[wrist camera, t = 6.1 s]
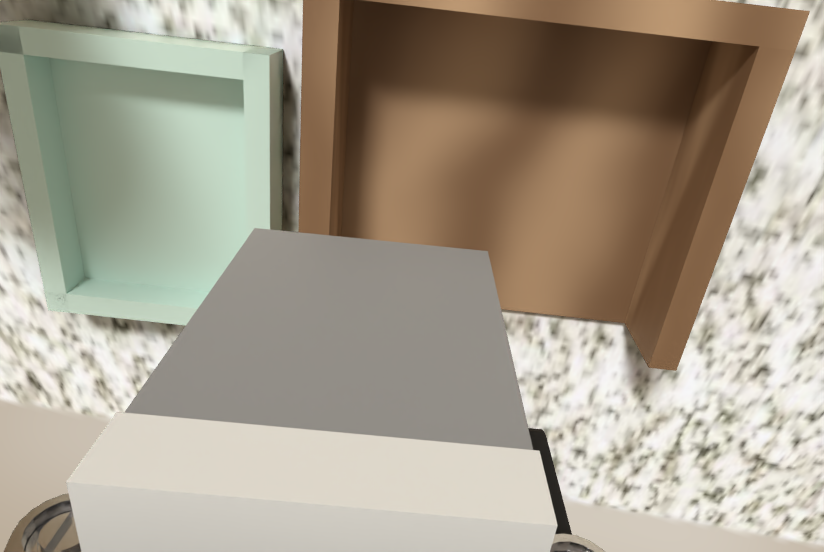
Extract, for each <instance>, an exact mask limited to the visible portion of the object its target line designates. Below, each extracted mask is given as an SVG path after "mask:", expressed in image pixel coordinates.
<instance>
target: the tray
mask: <svg viewBox="0 0 824 552" xmlns="http://www.w3.org/2000/svg"><path fill="white" fill-rule="evenodd" d="M0 70H1V75H2V80H3V85H4V90H5V95H6V100H7V105H8V110H9V115H10V120H11V125H12V130H13V135H14V140H15V145H16V150H17V155H18V160H19V165H20V170H21V175H22V180H23V185H24V191H25V196H26V201H27V206H28V211H29V216H30V221H31V226H32V231H33V236H34V241H35V246H36V251H37V256H38V261H39V266H40V271H41V276H42V281H43V286H44V291H45V296H46V301H47V306H48V310H51V311H60V312H68V313H77V314H86V315H95V316H104V317H113V318H122V319H131V320H140V321H149V322H158V323H167V324H176V325H185V326H186V325H187V323H188V322H189V320H190V319H191V318H192V316H193V315H194V313H195V312H196V310H197V309H198V308H199V306H200V305H201V303H202V302H203V301H204V299H205V298H206V296H207V295H208V293H209V292H210V291H211V289H212V288H213V286H214V285H215V283H216V282H217V281H218V279H219V278H220V276H221V275H222V274H223V272H224V271H225V269H226V268H227V266H228V265H229V264H230V262H231V261H232V259H233V258H234V257H235V255H236V254H237V252H238V251H239V249H240V248H241V247H242V245H243V244H244V242H245V241H246V240H247V238H248V237H249V235H250V234H251V232H252V231H253V230H254V228H260V229H270V230H280V231H282V182H283V49H277V48H269V47H260V46H251V45H243V44H234V43H225V42H217V41H208V40H200V39H191V38H182V37H174V36H165V35H156V34H148V33H139V32H130V31H122V30H113V29H104V28H96V27H87V26H79V25H70V24H61V23H53V22H44V21H35V20H19V21H9V22H0Z"/></svg>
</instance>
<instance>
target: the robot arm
mask: <svg viewBox="0 0 824 552" xmlns="http://www.w3.org/2000/svg"><path fill="white" fill-rule="evenodd" d="M528 429H529V434H530V438H531V442H532V447H533V450H537V451H540V455H541V459H542V463H543V467H544V471H545V476H546V480H547V484H548V488H549V492H550V496H551V500H552V505H553V509H554V513H555V517H556V521H557V525H558V526H557V529H556V533H555V536H554V539H553V543H552V546H551V550H550V552H605V551H604V550H603V549H601V548H600V547H598V546H597V545H595V544H594V543H592V542H591V541H589V540H587V539H584V538H581V537H579V536H576V535H572V533H571V530H570V525H569V522H568V518H567V514H566V510H565V506H564V503H563V499H562V495H561V491H560V487H559V484H558V480H557V476H556V472H555V468H554V465H553V461H552V457H551V453H550V449H549V446H548V442H547V438H546V435H545V433H544V431H543V430H542V429H531V428H528ZM4 552H81V548H80V543H79V539H78V534H77V529H76V525H75V520H74V516H73V511H72V506H71V502H70V497H69V493H68V494H63V495H60V496H58V497H55V498H52V499H50V500H47V501H45V502H44V503H42V504H40V505H39V506H37V507H36V508H34V509H32V510H31V511H30V512H29V513H28V514H27V515H26V516H25V517H24V518H22V519H21V520H20V521H19V523H18V525H17V526H16V528H15V529H14V531H13V532H12V535H11V536H10V539H9V541H8V543H7V545H6V548H5V550H4Z"/></svg>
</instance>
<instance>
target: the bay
mask: <svg viewBox="0 0 824 552" xmlns="http://www.w3.org/2000/svg"><path fill="white" fill-rule="evenodd" d="M809 12H810V11H803V10H794V9H786V8H777V7H769V6H760V5H752V4H743V3H734V2H726V1H717V0H303V36H302V87H301V138H300V189H299V232H300V233H310V234H320V235H330V236H340V237H350V238H360V239H370V240H380V241H390V242H400V243H410V244H421V245H431V246H441V247H451V248H461V249H471V250H481V251H488V254H489V259H490V263H491V267H492V272H493V276H494V280H495V285H496V289H497V294H498V298H499V302H500V307H501V309H504V310H513V311H522V312H531V313H540V314H549V315H558V316H567V317H576V318H585V319H593V320H602V321H611V322H620V323H625V325H626V326H627V328H628V330H629V332H630V334H631V336H632V338H633V339H634V341H635V343H636V345H637V347H638V349H639V351H640V352H641V354H642V356H643V358H644V360H645V362H646V364H647V365H648V367H649V368H658V369H667V370H677V367H678V364H679V362H680V359H681V356H682V354H683V351H684V348H685V346H686V343H687V340H688V338H689V335H690V332H691V330H692V327H693V324H694V321H695V319H696V316H697V313H698V311H699V308H700V305H701V303H702V300H703V297H704V295H705V292H706V289H707V287H708V284H709V281H710V278H711V276H712V273H713V270H714V268H715V265H716V262H717V260H718V257H719V254H720V252H721V249H722V246H723V244H724V241H725V238H726V235H727V233H728V230H729V227H730V225H731V222H732V219H733V217H734V214H735V211H736V209H737V206H738V203H739V201H740V198H741V195H742V192H743V190H744V187H745V184H746V182H747V179H748V176H749V174H750V171H751V168H752V166H753V163H754V160H755V158H756V155H757V152H758V149H759V147H760V144H761V141H762V139H763V136H764V133H765V131H766V128H767V125H768V123H769V120H770V117H771V115H772V112H773V109H774V107H775V104H776V101H777V98H778V96H779V93H780V90H781V88H782V85H783V82H784V80H785V77H786V74H787V72H788V69H789V66H790V64H791V61H792V58H793V55H794V53H795V50H796V47H797V45H798V42H799V39H800V37H801V34H802V31H803V29H804V26H805V23H806V21H807V18H808V15H809Z"/></svg>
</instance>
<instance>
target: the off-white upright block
mask: <svg viewBox="0 0 824 552" xmlns="http://www.w3.org/2000/svg"><path fill="white" fill-rule="evenodd" d="M66 483H67V488H68V492H69V497H70V502H71V506H72V511H73V516H74V520H75V525H76V529H77V534H78V539H79V543H80V548H81V552H550V550H551V546H552V543H553V539H554V536H555V533H556V529H557V526H558V525H557V521H556V517H555V513H554V509H553V505H552V500H551V496H550V492H549V488H548V484H547V480H546V476H545V471H544V467H543V463H542V459H541V455H540V451H537V450H533V447H532V442H531V438H530V434H529V429H528V425H527V420H526V416H525V412H524V407H523V403H522V399H521V394H520V390H519V385H518V381H517V377H516V372H515V368H514V364H513V359H512V355H511V350H510V346H509V342H508V337H507V333H506V329H505V324H504V320H503V315H502V311H501V307H500V302H499V298H498V294H497V289H496V285H495V280H494V276H493V272H492V267H491V263H490V259H489V254H488V251H481V250H471V249H461V248H451V247H441V246H431V245H421V244H410V243H400V242H390V241H380V240H370V239H360V238H350V237H340V236H330V235H320V234H310V233H300V232H290V231H280V230H270V229H260V228H254V230H253V231H252V232H251V234H250V235H249V237H248V238H247V240H246V241H245V242H244V244H243V245H242V247H241V248H240V249H239V251H238V252H237V254H236V255H235V257H234V258H233V259H232V261H231V262H230V264H229V265H228V266H227V268H226V269H225V271H224V272H223V274H222V275H221V276H220V278H219V279H218V281H217V282H216V283H215V285H214V286H213V288H212V289H211V291H210V292H209V293H208V295H207V296H206V298H205V299H204V301H203V302H202V303H201V305H200V306H199V308H198V309H197V310H196V312H195V313H194V315H193V316H192V318H191V319H190V320H189V322H188V323H187V325H186V326H185V327H184V329H183V330H182V332H181V333H180V335H179V336H178V337H177V339H176V340H175V342H174V343H173V344H172V346H171V347H170V349H169V350H168V352H167V353H166V354H165V356H164V357H163V359H162V360H161V362H160V363H159V364H158V366H157V367H156V369H155V370H154V371H153V373H152V374H151V376H150V377H149V379H148V380H147V381H146V383H145V384H144V386H143V387H142V388H141V390H140V391H139V393H138V394H137V396H136V397H135V398H134V400H133V401H132V403H131V404H130V405H129V407H128V408H127V410H126V411H125V413H123V412H116V414H115V415H114V417H113V418H112V419H111V421H110V422H109V423H108V425H107V426H106V428H105V429H104V431H103V432H102V433H101V435H100V436H99V437H98V439H97V440H96V441H95V443H94V444H93V446H92V447H91V448H90V450H89V451H88V453H87V454H86V455H85V457H84V458H83V459H82V461H81V462H80V464H79V465H78V466H77V468H76V469H75V470H74V472H73V473H72V475H71V476H70V477H69V479H68V480H67V482H66Z"/></svg>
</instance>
